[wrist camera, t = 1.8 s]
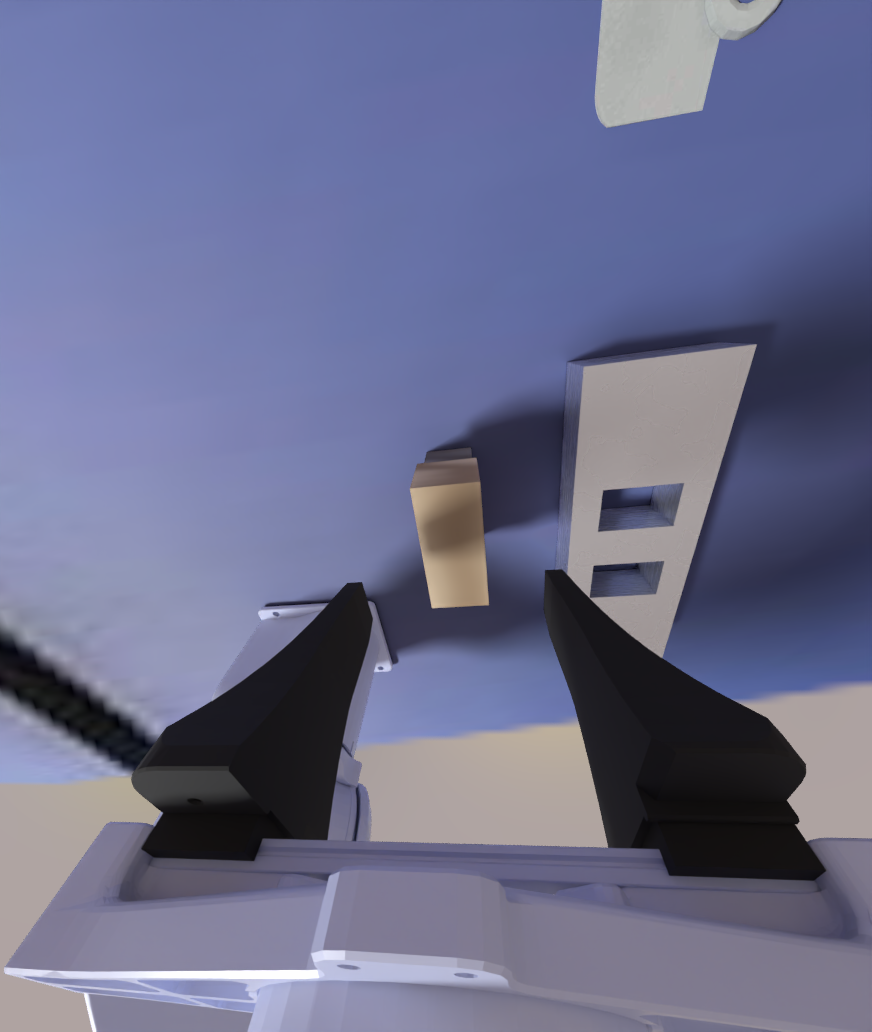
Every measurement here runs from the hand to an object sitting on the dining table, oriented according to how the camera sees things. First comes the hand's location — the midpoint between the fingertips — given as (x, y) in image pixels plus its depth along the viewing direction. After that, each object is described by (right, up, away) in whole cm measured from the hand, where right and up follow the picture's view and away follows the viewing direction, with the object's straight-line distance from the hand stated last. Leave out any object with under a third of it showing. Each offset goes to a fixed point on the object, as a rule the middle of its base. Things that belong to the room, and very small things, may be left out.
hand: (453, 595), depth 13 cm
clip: (+1, +4, +8) cm, 9 cm away
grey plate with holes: (+11, +3, +8) cm, 14 cm away
